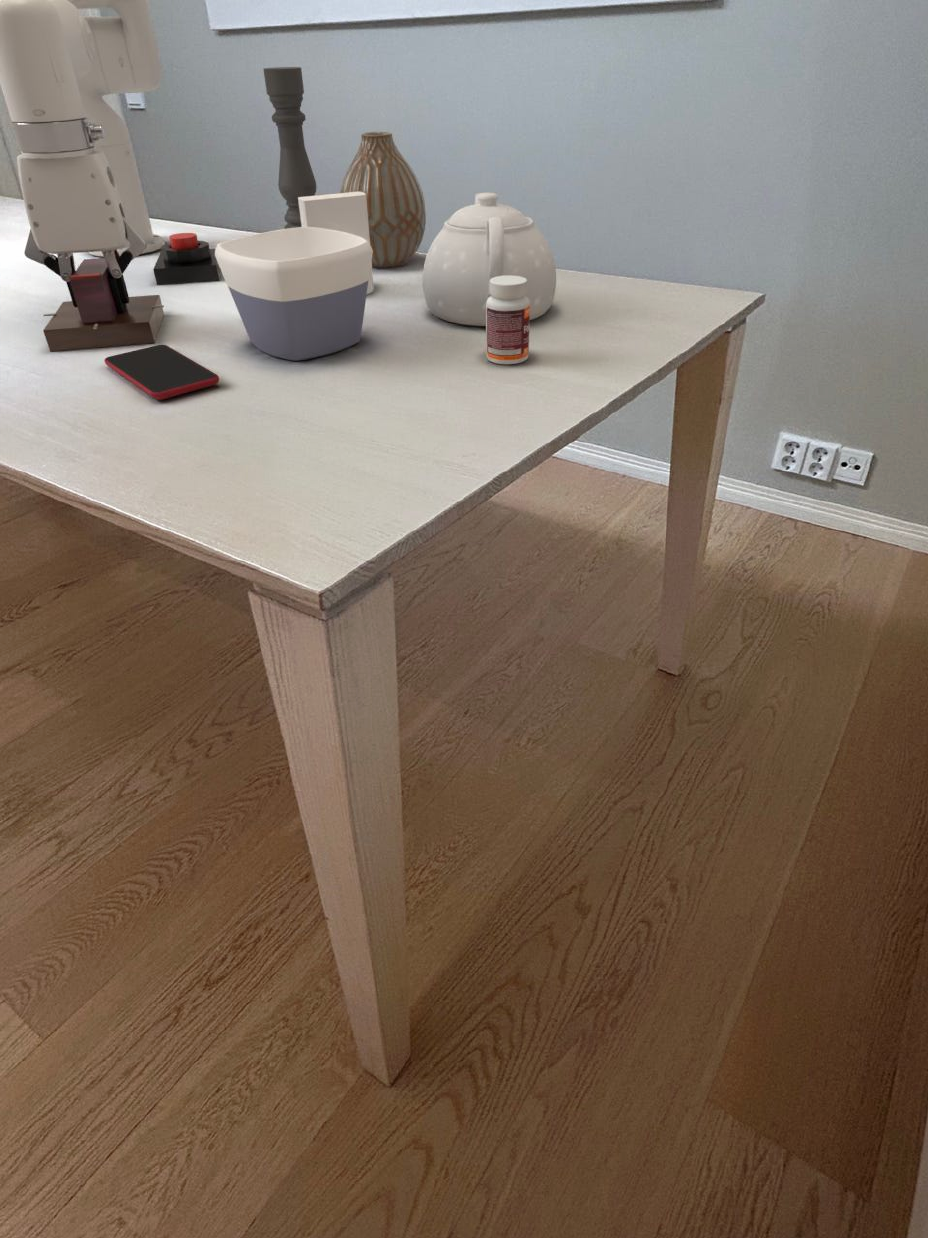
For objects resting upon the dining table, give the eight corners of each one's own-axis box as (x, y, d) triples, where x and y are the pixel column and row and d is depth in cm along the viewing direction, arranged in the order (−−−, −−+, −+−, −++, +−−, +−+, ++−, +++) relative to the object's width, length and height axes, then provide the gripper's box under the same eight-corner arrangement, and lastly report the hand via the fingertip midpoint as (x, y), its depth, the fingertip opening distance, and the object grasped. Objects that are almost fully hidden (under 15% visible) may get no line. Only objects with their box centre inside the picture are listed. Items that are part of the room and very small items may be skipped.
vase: (359, 251, 131) (347, 127, 121) (436, 253, 129) (431, 127, 118) (332, 272, 121) (317, 138, 110) (416, 274, 119) (408, 139, 108)
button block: (164, 266, 126) (157, 239, 123) (222, 262, 127) (217, 235, 125) (156, 284, 117) (149, 255, 115) (219, 280, 119) (213, 251, 116)
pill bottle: (532, 363, 88) (535, 284, 83) (490, 366, 87) (490, 286, 82) (523, 349, 92) (525, 272, 87) (482, 352, 91) (482, 275, 86)
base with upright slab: (320, 302, 108) (308, 204, 101) (303, 286, 115) (290, 193, 108) (382, 293, 111) (375, 198, 104) (362, 278, 118) (354, 187, 110)
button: (173, 245, 121) (170, 233, 120) (199, 244, 122) (197, 231, 121) (170, 251, 118) (167, 239, 117) (198, 250, 119) (195, 237, 118)
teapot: (388, 313, 104) (379, 196, 95) (482, 283, 114) (482, 176, 106) (496, 343, 93) (497, 215, 85) (589, 307, 104) (597, 190, 96)
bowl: (320, 315, 103) (308, 221, 97) (397, 341, 95) (389, 240, 88) (215, 344, 95) (194, 244, 88) (289, 376, 86) (272, 267, 79)
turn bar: (95, 300, 102) (83, 257, 99) (124, 298, 103) (112, 255, 99) (82, 324, 94) (68, 277, 91) (113, 321, 95) (100, 275, 92)
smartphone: (164, 343, 93) (221, 376, 84) (166, 350, 94) (223, 384, 84) (101, 357, 89) (154, 394, 80) (103, 365, 90) (156, 403, 80)
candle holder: (320, 251, 132) (299, 68, 117) (283, 252, 132) (257, 69, 117) (326, 243, 137) (306, 66, 121) (290, 243, 137) (266, 67, 122)
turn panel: (62, 319, 104) (55, 298, 103) (173, 310, 107) (168, 290, 105) (38, 355, 93) (30, 332, 92) (163, 345, 95) (157, 322, 94)
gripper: (137, 131, 91) (175, 297, 103) (-17, 138, 89) (39, 308, 100) (129, 139, 86) (171, 314, 97) (-36, 147, 83) (26, 325, 94)
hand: (103, 309), depth 98 cm, fingers closed on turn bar, 3 cm apart
